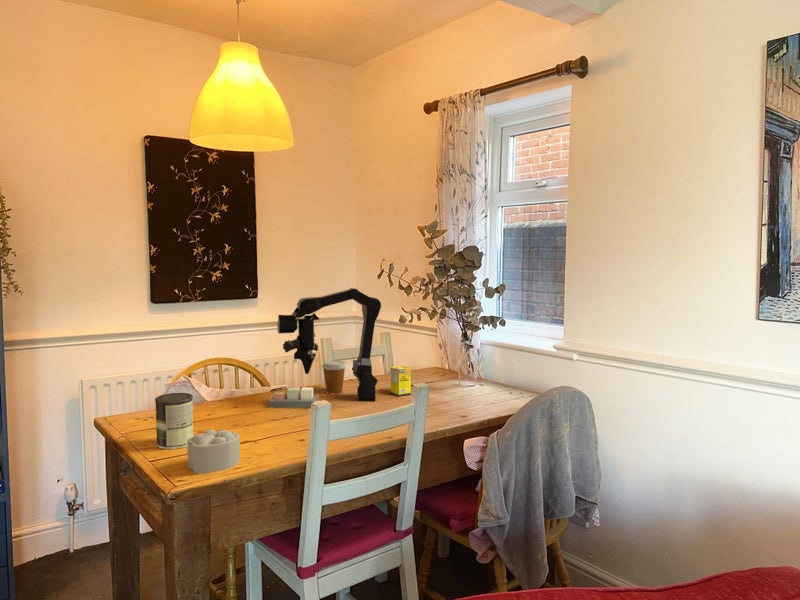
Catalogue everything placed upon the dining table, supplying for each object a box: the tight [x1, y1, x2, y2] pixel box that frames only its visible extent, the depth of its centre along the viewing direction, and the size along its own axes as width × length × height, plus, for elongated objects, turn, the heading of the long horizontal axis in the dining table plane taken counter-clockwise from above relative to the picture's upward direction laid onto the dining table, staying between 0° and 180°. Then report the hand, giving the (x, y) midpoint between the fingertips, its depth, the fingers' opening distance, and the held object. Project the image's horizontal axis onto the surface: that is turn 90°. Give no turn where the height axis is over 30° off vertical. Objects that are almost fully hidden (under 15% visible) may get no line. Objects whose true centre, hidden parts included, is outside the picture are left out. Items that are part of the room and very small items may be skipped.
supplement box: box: [390, 365, 412, 397], centre depth 227 cm, size 6×6×11 cm
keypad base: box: [268, 394, 319, 409], centre depth 211 cm, size 16×10×2 cm, turn 90°
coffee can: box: [154, 392, 194, 450], centre depth 167 cm, size 10×10×14 cm
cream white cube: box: [300, 387, 314, 400], centre depth 211 cm, size 4×4×4 cm
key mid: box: [286, 386, 301, 400], centre depth 211 cm, size 4×4×4 cm
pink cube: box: [273, 391, 287, 399], centre depth 211 cm, size 4×4×4 cm
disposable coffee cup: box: [321, 360, 347, 394], centre depth 230 cm, size 10×10×12 cm
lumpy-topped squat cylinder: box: [186, 428, 241, 475], centre depth 151 cm, size 10×13×9 cm
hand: (306, 373), depth 210 cm, fingers closed
